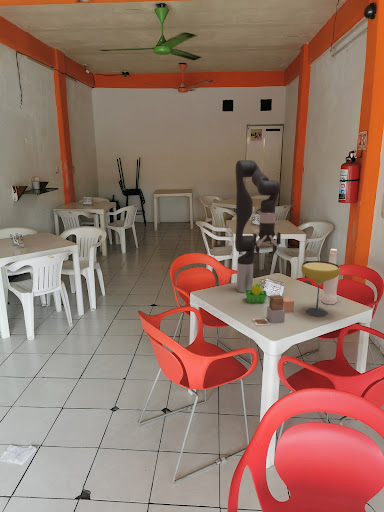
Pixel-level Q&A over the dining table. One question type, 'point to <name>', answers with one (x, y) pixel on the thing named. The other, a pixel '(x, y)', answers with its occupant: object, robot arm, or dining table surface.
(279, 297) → the walnut block
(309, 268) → the cocktail glass
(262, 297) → the fruit basket
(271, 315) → the grey block
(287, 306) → the terracotta block
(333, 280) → the bottle
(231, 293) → the dining table surface
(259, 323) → the tile
